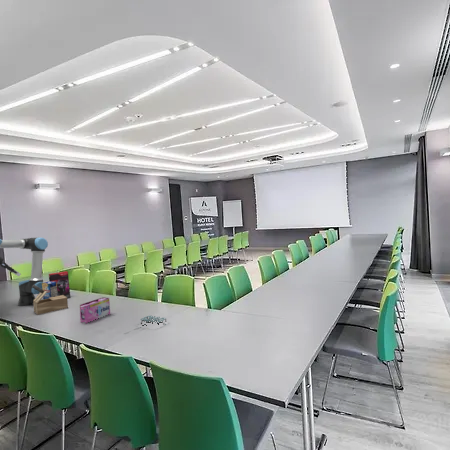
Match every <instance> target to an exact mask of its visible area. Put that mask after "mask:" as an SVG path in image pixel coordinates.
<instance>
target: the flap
mask: <svg viewBox="0 0 450 450" xmlns="http://www.w3.org/2000/svg"><path fill="white" fill-rule="evenodd" d="M32 288H34V289H35V290H37V291H39V292H40V293H39V294H37V296H35V299H34V300H33V301H35V302H36V303H38V302H39V301H40V300H43V296H44V295H45V294H46V293H47V291H45V290H42V289H41V288H39V287H37V286H36V285H33V286H32Z"/></svg>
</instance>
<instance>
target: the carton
mask: <svg viewBox="0 0 450 450" xmlns="http://www.w3.org/2000/svg"><path fill="white" fill-rule="evenodd" d="M68 304H69V303H68V298H67V297H66V296H64V295H60V296H55V297H50V298H48V299H43V298H42V299H41V300H40V301H39V302H38V303H36V302H35V301H34V302H33V304H32V306H33V312H34V313H35V314H36V315H37V316H40V315H44V314H48V313H52V312H57V311H61V310H66V309H69V305H68Z"/></svg>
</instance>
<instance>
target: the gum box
mask: <svg viewBox="0 0 450 450" xmlns="http://www.w3.org/2000/svg"><path fill="white" fill-rule="evenodd" d="M110 302H111V301H110V297H99V298H97V299H94V300H90V301H87V302H84V303H82V304H79V319H80V323H83V322H85V323H84V324H88V322H89V323H91V322H93V320H94V321H96V320H99V319H101V318H100V317H102V318H104V317H106V316H105V315H107V316H109V315H111V303H110ZM108 314H109V315H108ZM103 316H104V317H103ZM98 318H99V319H98ZM95 319H96V320H95ZM90 321H91V322H90Z"/></svg>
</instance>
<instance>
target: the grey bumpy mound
mask: <svg viewBox="0 0 450 450" xmlns="http://www.w3.org/2000/svg"><path fill="white" fill-rule="evenodd" d="M152 319H153V320H154V321H153V320H152ZM140 321H141V322H145V321H146V323H151V322H152V324H153V322H155V321H156V322H157V321H158V322H159V323H163V322H167V317H160V316H157V317H156V315H154V316H153V315H146V316H143V317H142V318H140ZM149 321H150V322H149ZM161 321H162V322H161ZM156 322H155V323H156ZM158 322H157V324H158V325H159V323H158ZM144 325H146V324H144ZM144 325H142V326H144ZM146 326H147V325H146Z"/></svg>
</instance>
